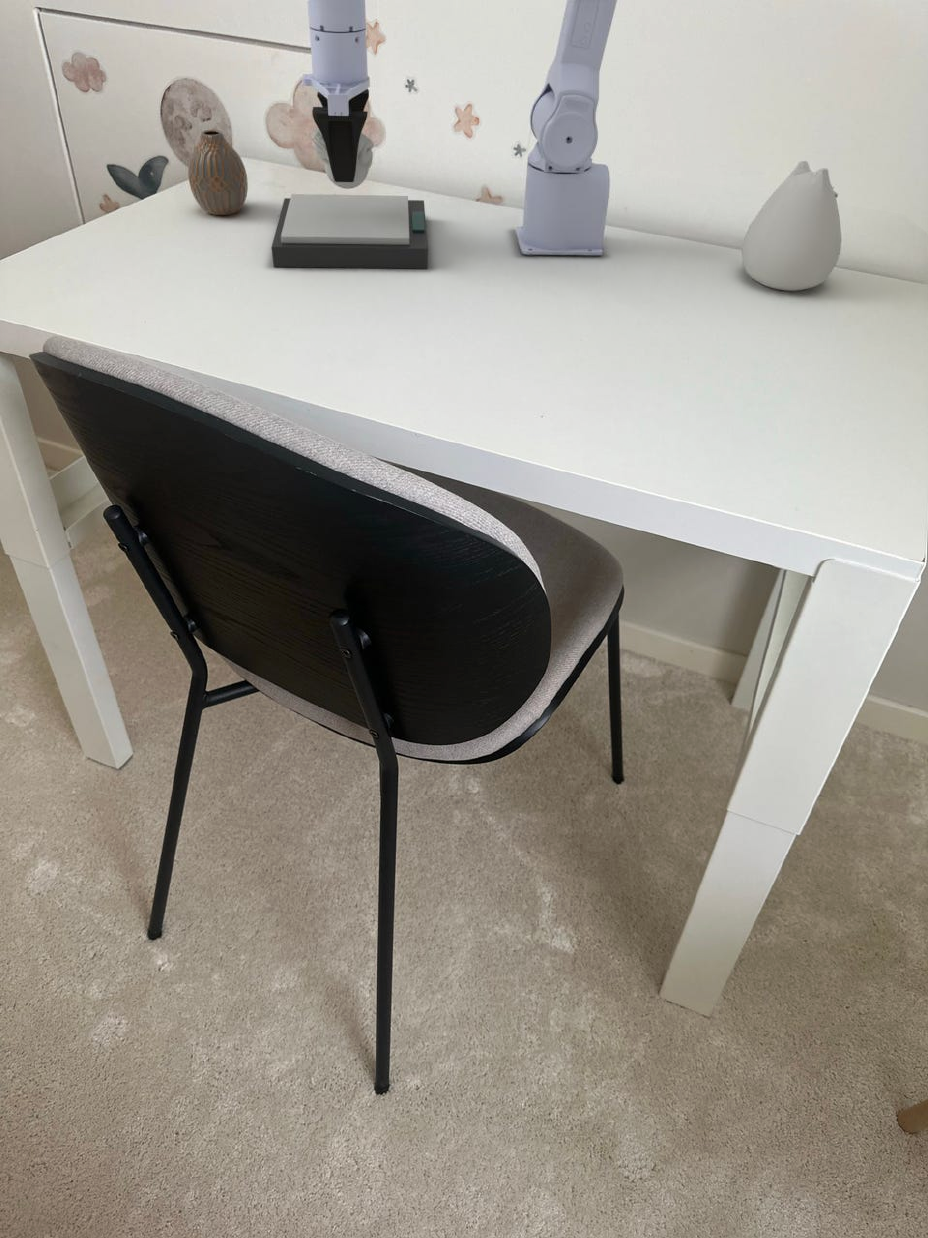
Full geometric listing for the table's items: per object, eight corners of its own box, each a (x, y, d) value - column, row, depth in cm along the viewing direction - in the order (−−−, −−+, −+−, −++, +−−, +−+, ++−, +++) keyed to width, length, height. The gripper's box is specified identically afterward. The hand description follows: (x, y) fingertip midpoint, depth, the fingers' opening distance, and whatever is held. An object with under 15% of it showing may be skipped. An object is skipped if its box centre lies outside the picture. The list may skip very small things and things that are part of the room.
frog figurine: (307, 182, 101) (302, 113, 97) (365, 176, 104) (363, 109, 99) (323, 199, 97) (318, 128, 93) (383, 192, 100) (382, 123, 95)
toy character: (850, 287, 99) (888, 171, 91) (783, 305, 95) (817, 185, 87) (781, 255, 106) (811, 145, 98) (716, 271, 101) (742, 157, 93)
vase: (183, 215, 109) (169, 136, 103) (211, 197, 114) (199, 121, 108) (234, 222, 108) (223, 143, 102) (260, 204, 113) (251, 128, 107)
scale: (424, 218, 111) (424, 193, 109) (427, 268, 99) (427, 241, 97) (286, 216, 110) (283, 190, 108) (273, 267, 98) (270, 239, 96)
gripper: (303, 12, 95) (313, 151, 104) (292, 40, 85) (304, 192, 94) (369, 14, 96) (373, 152, 105) (366, 42, 85) (371, 193, 94)
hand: (345, 171), depth 99 cm, fingers closed on frog figurine, 6 cm apart
